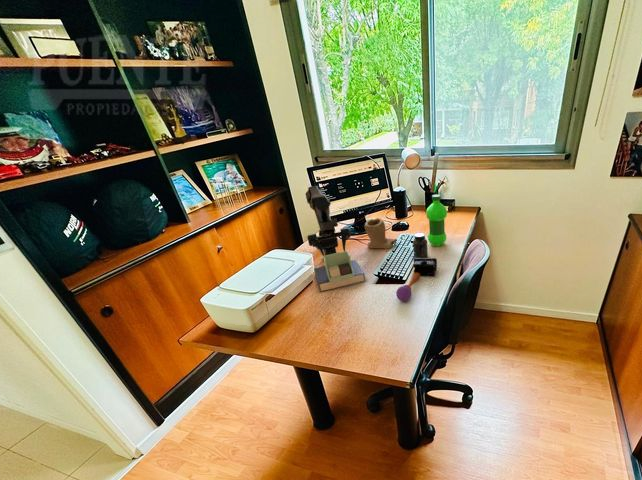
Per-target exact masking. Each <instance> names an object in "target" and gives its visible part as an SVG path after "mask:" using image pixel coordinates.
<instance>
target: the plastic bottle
mask: <svg viewBox="0 0 642 480" xmlns="http://www.w3.org/2000/svg"><path fill="white" fill-rule="evenodd" d="M441 198H442V197H441V194H432V195H431V201H432V203H431V204H429V206H428V207H427V208H426V211H425V212H426V218H427V219H428V226H429V232H428V234H427V241H428V242H429V244H431V245H432V246H434V247H440V246H442V245H443V244H444V243H446V241H447V234H446V232H445V231H446V230H445V220H446V218H447V216H448V211H447V208H446V206H445V205H444V204H442V203H441V202H440V201H441V200H442V199H441Z"/></svg>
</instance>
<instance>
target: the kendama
mask: <svg viewBox="0 0 642 480" xmlns="http://www.w3.org/2000/svg"><path fill="white" fill-rule="evenodd" d="M419 279H421V276H420V274H419V273H414V272H413V274H412V276H411V279H410V281H409V282H408V284H403V285H402V286H399V287H398V288H397V290H396V291H395V293H396V295H395V296H396V298H397V299H398V300H399V301H401V302H407V301H409V300H410V299H411V297H412V286H413V285H414V284H415V283H416V282H417V281H419Z"/></svg>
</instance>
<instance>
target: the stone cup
mask: <svg viewBox="0 0 642 480" xmlns="http://www.w3.org/2000/svg"><path fill="white" fill-rule="evenodd" d="M364 229H365V233H366V234H367V236H368V238H369V242H368V243H367V248H371V249H390V248H393V247H394V246H393V244H394V243H395V242H396V241H397V242H398V239H397V238H387V237H386V223H385V221H384V220H383V219H381V218H379V217H377V218H371V219H369V220H368V221H366V222H365V223H364ZM397 242H396V243H397Z"/></svg>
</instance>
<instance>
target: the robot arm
mask: <svg viewBox="0 0 642 480" xmlns="http://www.w3.org/2000/svg"><path fill="white" fill-rule="evenodd" d="M305 199H306V202H307V204H309V208H310V209H311V210H313V211H314V214H315V218H316V220H317V224H318V227H319V230H318V235H317V233H312V234H308V235H307V242H308V245H309V247H313V248H315V249H317V250H318V251H319V253H320V255H322V257H323V256H325V255H330V254H334V253H338V252H337V250H336V248H338V246H339V242H338V241H339V240H338V238H340V237H341V245H342V249H343V250H342V251H343V252H344V251H346V243H347V241H348V240H349V239H350V238H351V236H352V231H351V229H350V228H349V227H348V226H347V227H343V228H340V231H338V232H336V229H335V228H336V227H339V223H338V220H337V218H331V214H330V212H331V211H330V210H331V209H330V207H331V205H332V203H331V201H330V199H328V197H327V196H326V195H325V194H324V193H323V191H322V190H321V189H320V186H318V185H313V186H312V185H311V186H309V187H307V190H306V192H305Z"/></svg>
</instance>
